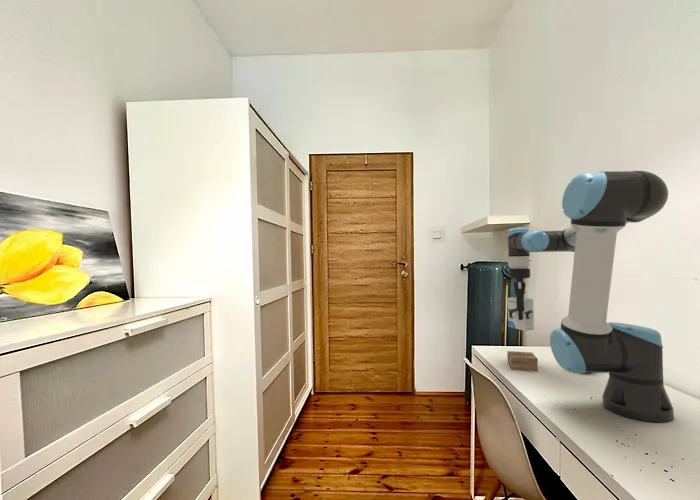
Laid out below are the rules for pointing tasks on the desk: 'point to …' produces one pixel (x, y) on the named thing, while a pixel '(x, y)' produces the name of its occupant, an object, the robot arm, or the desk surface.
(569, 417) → the desk surface
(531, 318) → the ink box
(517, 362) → the base block
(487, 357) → the desk surface
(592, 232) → the robot arm
